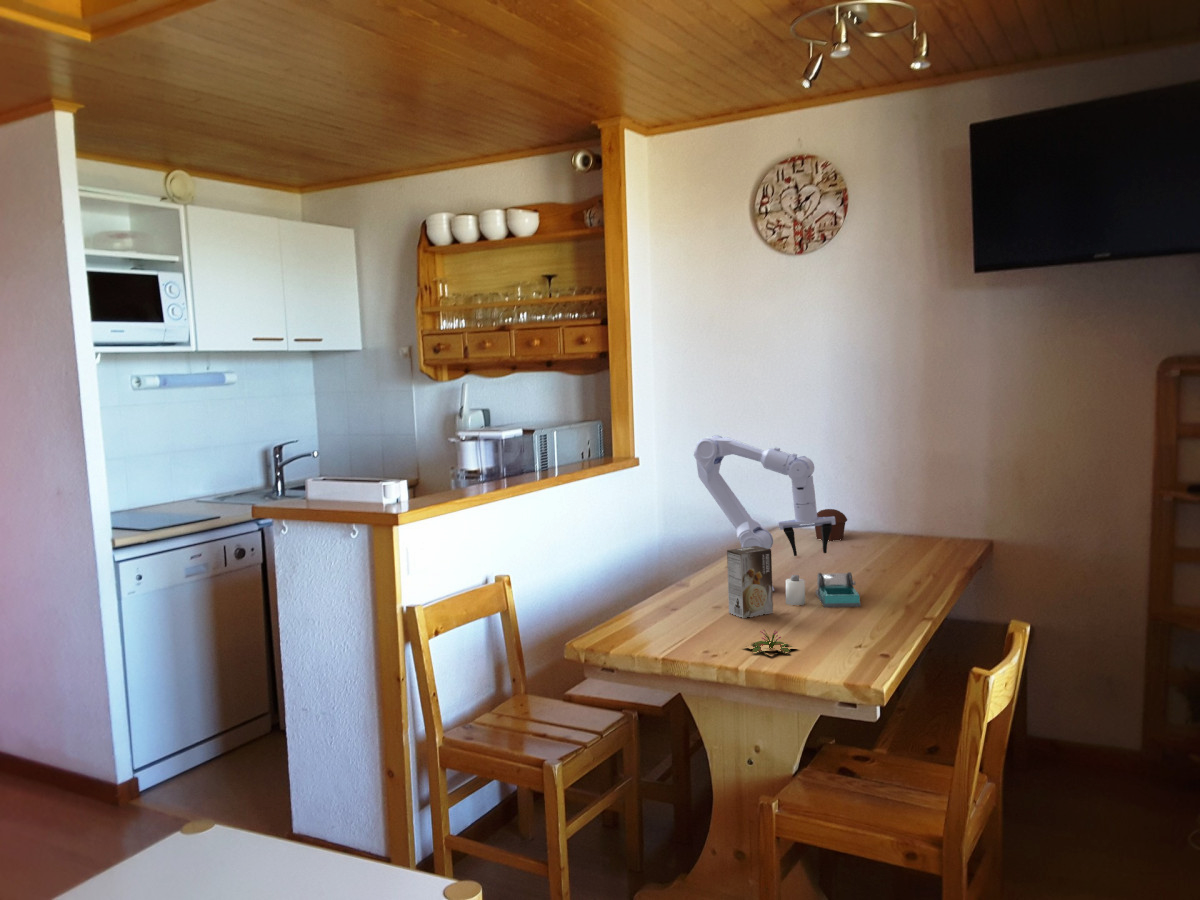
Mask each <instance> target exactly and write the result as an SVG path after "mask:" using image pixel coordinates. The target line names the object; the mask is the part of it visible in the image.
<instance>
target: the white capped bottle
mask: <svg viewBox="0 0 1200 900" xmlns="http://www.w3.org/2000/svg"><path fill="white" fill-rule="evenodd" d="M785 604H786V605H787V604H789V605H788V606H790V605H802V606H804V604H805V605H806V580H805V579H803V578H800V575H799V574H791V575H790V578H787V579H785Z"/></svg>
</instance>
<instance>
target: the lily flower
mask: <svg viewBox="0 0 1200 900" xmlns="http://www.w3.org/2000/svg"><path fill="white" fill-rule="evenodd" d="M759 633H761V634H762V635H763V637H760V638H761V639H762V640H758V641H754V642H752V645H753V646H757V647H755V648H753V650H751V652H752V653H753V652H757V651H760V652H758V653H757V654H759V653H761V652H764V651H762V650H761V647H760V646H761V645H762V646H763V645H769V648H770V647H771V648H772V649H774V648H773V646H774V645H780V647H781V649H780V650H781V651H784V652H790V651H789V649H788V648H782V647H784V646H788V644H784V643H785V642H783V641H779V640H780V639H781V638H782V636H779V637H778V633H779V631H776V630H773V634H772V636H771V638H770V636H769V635H768V634H767V632H766V630H765V629H762V631H761V630H760V631H759ZM776 634H777V635H776ZM777 637H778V638H777ZM768 640H769V641H768ZM770 640H771V641H770ZM766 641H767V642H766ZM773 641H774V642H773ZM769 642H771V643H770V644H769ZM754 643H755V644H754ZM781 644H784V645H781ZM747 646H748V645H747ZM747 646H745V647H747ZM789 646H790V647H793V646H791V645H789ZM769 648H768V649H769ZM771 648H770V649H771ZM781 651H779V653H783V654H786V653H784V652H781ZM764 655H765V656H767V655H766V654H764ZM786 655H787V654H786Z"/></svg>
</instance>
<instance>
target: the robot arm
mask: <svg viewBox="0 0 1200 900" xmlns="http://www.w3.org/2000/svg"><path fill="white" fill-rule="evenodd" d="M730 455H734V456H737V457H742V458H745V459H748V460H752V461H755V462H759V463H761V465H762V467H763V468H764V469H766V470H770V471H772V472H775V473H778V474H781V475H784V476H788V477H789V478H790V480H791V493H792V500H793V508H794V518H795V519H789V520H782V521H778V528H779V531H783V533H784V534H785V536H786V538H787V539H788V542H789V543H790V546H791V550H792V553H793V556H794V557H797V556H798V553H797V546H796V542H795V541H796V540H795V539H796V538H795V531H794V529H798V528H809V527H815V526H821V532H822V541H821V542H822V553H823V554H827V550H828V543H829V541H828V539H829V535H830V533H831V530H832V526H831V525H835V524H836V523H835V517H834V516H833V517H817V513H818V510H817V504H816V503H817V502H816V492H815V484H814V477H813V474H814V472H815V463H814V462H813V460H812V459H811V458H809V457H807V456H805V455H801V456H798V454H797V453H788V452H785V451H782V450H781V448H780V447H777V446H775V447H773V448H772V447H770V448H768V449H765V450H764V449H762V448H759V447H755V446H754V445H750V444H747V443H744V442H742V441H740V440H739V441H738V440H736V439H734V438H732V437H731V438H730V437H726V436H724V437H723V436H722V435H718V434H715V435H711V436H710V437H704V438H701V439H699V440H698V441H697V443H696V445H695V448H694V451H693V456H694V458H695V461H696V468H697V477H698V478H699V480H700V482H702V484H703V485H704V487H705V488H706V489H707V491H708V492H709V494H710V495H711V496H712V499H714V501H715V503H717V505H718V506H719V507H720V509H721V510H722V512H723V513H724V515H725V516H726V518H728V520H729V522H730V524H731V525H732V526H733V528H735V530H736V538H737V540H738V541H739V543H740V548H744V547H751V546H759V547H763V548H767V549H771V548H772V547H773V545H774V538H773V535H772V534H771V532H770V531H769V530H767V529H765V528H764V527H763V526H761V524H760V523H759V522H758V521H756V520H754V518H752V517H751V515H750V514H749V512H748V511H747V510H746V508H745V506H744V505H743V504H742V503H741V501H740V500H739V499H738V497H737V495H735V493H734V492H733V490H732V489H731V487H730V486H729V484H728V483H727V482H726V480H725V478H723V476H722V475H721V473H720V469H721V465H722V464H721V463H722V461H723V459H724V457H726V456H730ZM772 592H775V588H774V586H773V584H772Z"/></svg>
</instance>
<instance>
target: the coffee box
mask: <svg viewBox="0 0 1200 900" xmlns="http://www.w3.org/2000/svg"><path fill="white" fill-rule="evenodd" d="M726 555H727V556H726V558H727V562H726V563H727V589H728V592H727V593H728V614H730V613H731V614H730V615H732V614H733V615H732V616H735V615H736V617H738V616H739V617H738V618H740V617H742V618H741V619H743V618H745V619H748V618H747V617H750V618H753V616H755V617H759V616H758V615H760V616H763V614H765V615H769V614H773V613H774V604H773V603H774V600H773V596H774V595H773V591H772V585H773V568H772V565H773V562H772V561H773V560H772V559H773V558H772V549H771V548H770V549H767V548H763V547H759V546H751V547H744V548H742V547H739V548H738V547H737V548H732V549H727V550H726Z"/></svg>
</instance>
